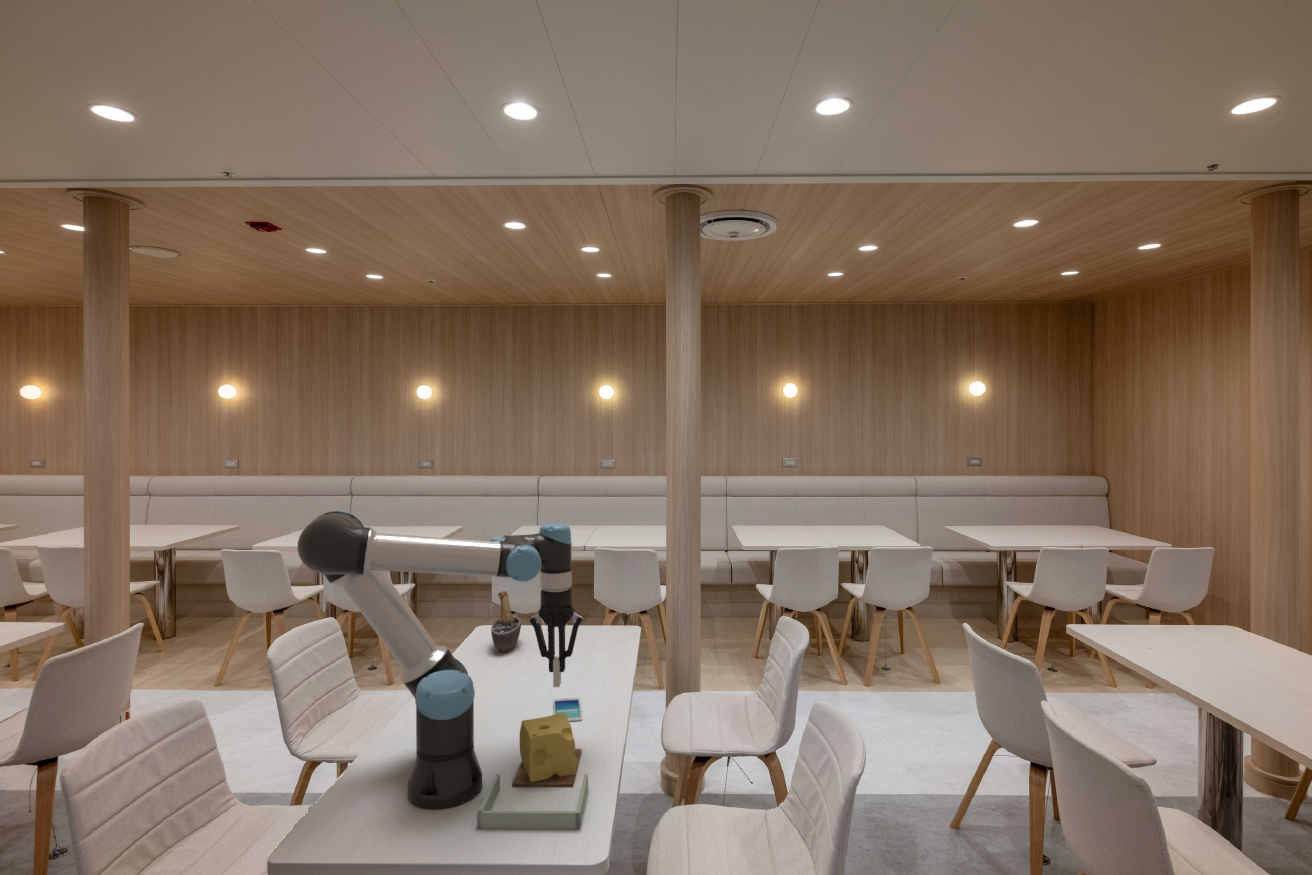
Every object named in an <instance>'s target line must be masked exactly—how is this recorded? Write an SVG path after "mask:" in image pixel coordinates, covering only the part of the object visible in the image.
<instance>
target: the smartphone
mask: <svg viewBox="0 0 1312 875" xmlns="http://www.w3.org/2000/svg"><path fill="white" fill-rule="evenodd" d="M552 707H553V715H555V714H559V713H564V714H565V715H566V716H567V718H568V721H569V723H575V722H577V723H578V722H582V721H583V715H582V709H581V708H582V706H581V701H580V697H568V698H567V697H566V698H554V699H553V706H552Z"/></svg>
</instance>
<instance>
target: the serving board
mask: <svg viewBox="0 0 1312 875" xmlns="http://www.w3.org/2000/svg"><path fill="white" fill-rule="evenodd" d="M582 752H583V750H582V748H575V752H574V754H575V759H576V773H575V775H569V776H562V777H559V776H558V775H553V776H552V777H551V778H549V779H545V780H541V781H536V782H530V779H529V776H528V774H527V772H526V770H525V768H524V766H523V763H522V761H521V762H520V764H519V767H518V770H517V771H516V773H515V777H514V778H513V781H512V783H511V787H513V788H514V787H515V788H516V787H519V788H521V787H523V788H526V787H527V788H528V787H530V788H531V787H533V788H534V787H536V788H541V787H543V788H545V787H547V788H550V787H552V788H553V787H554V788H555V787H557V788H559V787H560V788H562V787H563V788H565V787H566V788H569V787H570V788H573V787H574V784H575V780H576V776H577V772H578V768H579V765H580V764H579V763H580V760H581V755H582Z"/></svg>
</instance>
